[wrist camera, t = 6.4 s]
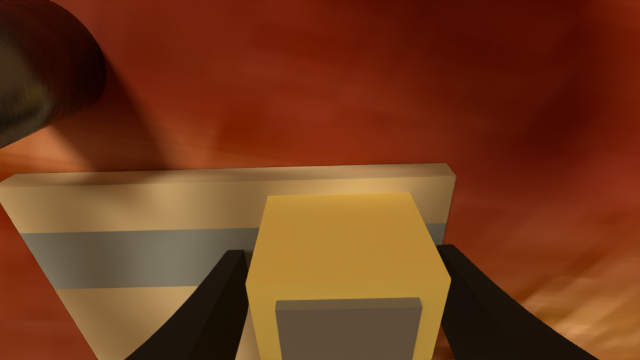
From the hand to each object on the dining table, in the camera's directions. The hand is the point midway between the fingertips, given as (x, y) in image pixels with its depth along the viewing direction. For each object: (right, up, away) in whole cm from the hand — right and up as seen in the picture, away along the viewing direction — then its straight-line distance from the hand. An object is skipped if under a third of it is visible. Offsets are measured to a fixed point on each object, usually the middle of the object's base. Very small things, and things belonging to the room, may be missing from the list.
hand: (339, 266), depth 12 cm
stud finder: (0, 0, +1) cm, 1 cm away
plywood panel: (-4, -5, +5) cm, 8 cm away
